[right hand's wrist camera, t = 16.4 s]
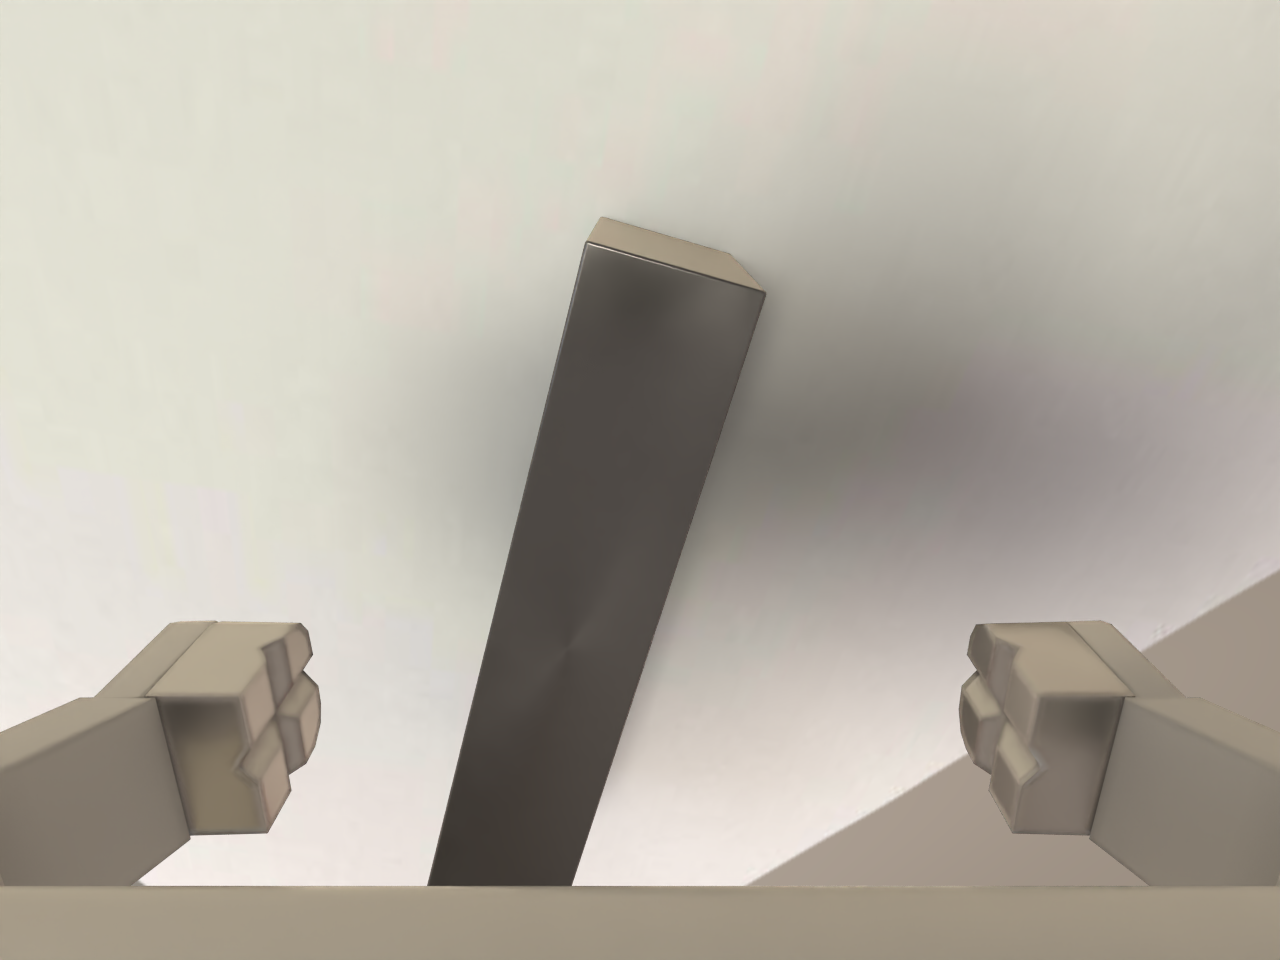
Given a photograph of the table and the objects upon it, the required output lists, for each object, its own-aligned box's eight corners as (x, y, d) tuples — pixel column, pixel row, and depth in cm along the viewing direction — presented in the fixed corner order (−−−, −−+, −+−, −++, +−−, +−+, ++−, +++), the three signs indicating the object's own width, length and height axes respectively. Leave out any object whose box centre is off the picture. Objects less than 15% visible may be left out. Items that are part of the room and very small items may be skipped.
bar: (600, 215, 31) (585, 240, 22) (731, 253, 31) (767, 292, 23) (469, 743, 40) (421, 910, 31) (572, 766, 40) (554, 937, 31)
